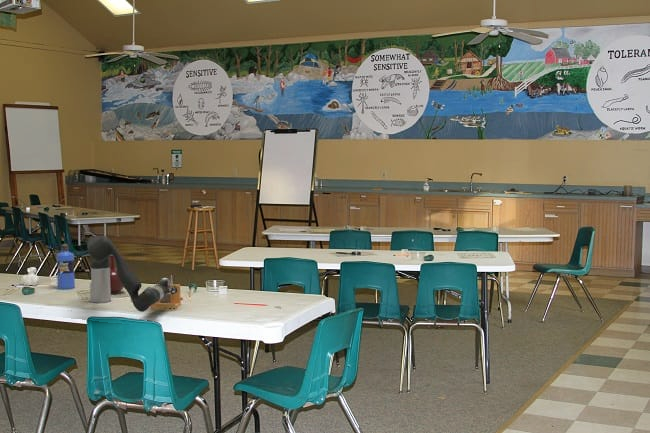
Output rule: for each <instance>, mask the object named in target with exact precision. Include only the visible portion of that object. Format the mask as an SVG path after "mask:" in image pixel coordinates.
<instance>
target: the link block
mask: <svg viewBox="0 0 650 433" xmlns="http://www.w3.org/2000/svg"><path fill="white" fill-rule="evenodd" d="M170 280H171V279H169V278H168V277H162V278H161V280H159V285H162V286H163V287H170ZM166 289H168V288H166ZM160 303H171V300H170V294H166V296H165V297H164V298H163V299H162V300H160Z"/></svg>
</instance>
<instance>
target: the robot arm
mask: <svg viewBox="0 0 650 433" xmlns="http://www.w3.org/2000/svg"><path fill="white" fill-rule="evenodd" d="M86 248H87V252H88V254H89V256H90V257H91V259H93V260H94V261H92V262H91V263H90V273H91V274H90V276H91V280H90V281H91V282H90V283H89V290H90V291H89V292H90V293H89V295H90V302H91V303H98V304H99V303H108V302H111V300H112V293H111V289H110V257H109V256H114V258H115V268H116V269H117V276H118V279H119V281H120V283H121V284H122V286H123V287H124V288H123V289H125V291H126V292H127V293H128V295H129V297H130V300H131V303H132V305H133V307H134V308H135V309H136V311H138V312H142V313H143V312H146V311H147V310H148V309H150V306H151V305H152V304H155V303H156V302H159V301H160V300H162V299H163V298H164V297H165V296H166V294H170V293H171V294H172V295H173V294H175V293H177V287H175V286H173V287H163V286H162V285H160V284H155V285H153V286H148V287H147V288H145V289H144V290H143V291H142V292H141V293H140V294H139V291H140V290H141V288H142V286H143V285H142V283H141V281H140V279H139V278H138V277H137V276H136V275H135V274H134V273H133V271H132V270H131V269H130V268H129V266H128V264H127V263H126V261H125V259H124V258H123V256H122V254H121V253H120V252H119V250H118V248H116V246H115V244H114V243H113V242H112V241H111V240H110V238H109V236H107V235H93V236H90V237H88V239H87V243H86ZM166 288H168V289H166ZM170 289H171V290H170Z"/></svg>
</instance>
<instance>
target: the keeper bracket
mask: <svg viewBox="0 0 650 433" xmlns="http://www.w3.org/2000/svg"><path fill="white" fill-rule="evenodd" d="M173 286H175V287H177V293H175V294H173V295H172V294H171V293H170V300H171V303H160V301H159V302H156V303H155V304H152V305H151V306H150V307H149V309H151V310H164V309H163V308H167V309H166V310H170V309H169V308H175V309H177V308H179V307H180V306H181V305H182V303H181V302H182V300H181V297H182V296H181V284H173V285H170V287H173ZM170 290H171V289H170ZM179 305H180V306H179ZM176 307H177V308H176Z"/></svg>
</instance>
